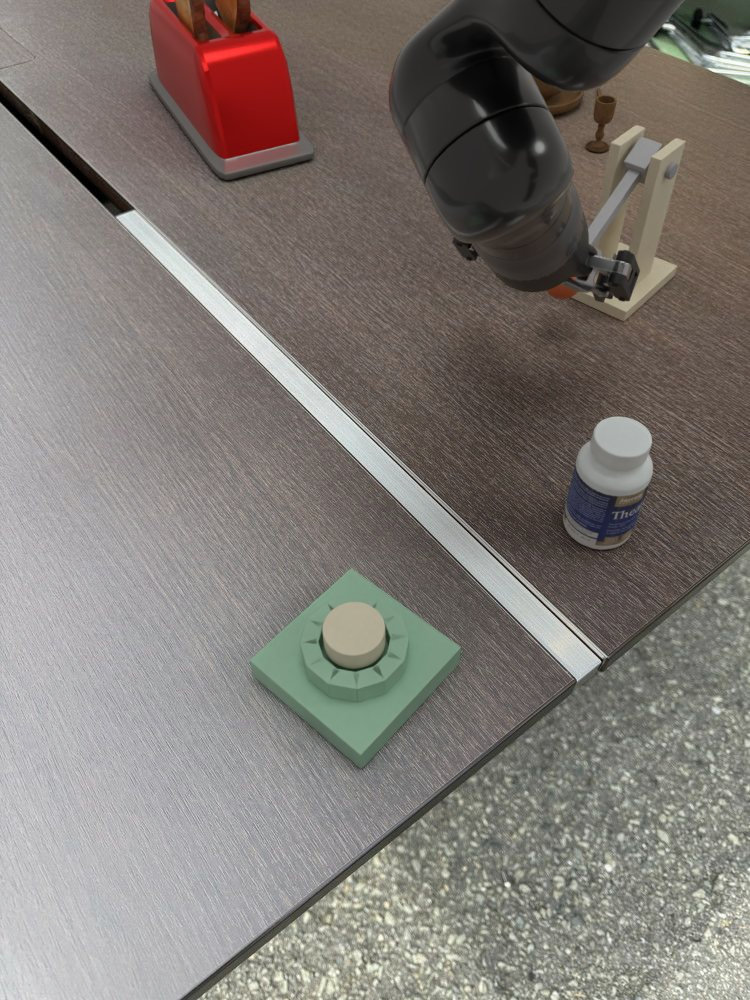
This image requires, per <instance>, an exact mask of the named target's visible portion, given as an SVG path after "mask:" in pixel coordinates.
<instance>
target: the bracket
mask: <svg viewBox="0 0 750 1000" xmlns="http://www.w3.org/2000/svg"><path fill="white" fill-rule="evenodd" d="M645 131H646V127H644V126H641V125H638V124H635V125H634V126H633V127H631V128H629V129H628V130H627V131H625V132H624V133H622V134H620V136H618V137H617V138H615V139H614V140H612V141H611V142H610V145H609V149H608V156H607V161H606V165H605V169H604V175H603V181H602V185H601V191H600V196H599V199H598V204H597V210H596V215H595V217H596V216H597V215H598V214H599V212H600V211H601V209H602V208H603V206H604V205H605V203H606V202H607V200H608V199H609V198H610V196H611V195H612V193H613V192H614V190H615V189H616V187H617V186H618V184H619V183H620V182H621V180H622V179H623V177H624V176H625V167H624V160H625V159H626V157H627V156H628V155H629V153H630V152H631V150H632V149H633V147H634V146H635V144H636V143H637V141H638V140H639V139H640V137H644V136H645ZM686 142H687V141H686V140H683V139H681V138H678V137H675V138H674V139H673V140H671V141H670V142H668V143H667V144H666V145H664V146H663V148H662V149H661V150H659V151H658V152H657V153H655V154H654V155H653V156H651V159H650V163H649V167H648V172H647V176H646V180H645V184H643V188H642V192H641V197H640V201H639V205H638V210H637V214H636V218H635V221H634V226H633V230H632V234H631V238H630V241H629V245H628V244H625V243H623V242H620V240H621V236H622V231H623V228H624V223H625V219H626V215H627V210H628V206H629V201H630V197H631V194H630V195H629V197H628V198H627V200H626V201H625V203H624V204H623V206H622V207H621V208H620V210H619V211H618V213H617V214H616V216H615V217H614V219H613V220H612V222H611V223H610V225H609V226H608V227H607V229H606V230H605V232H604V233H603V235H602V236H601V238H600V239H599V241H598V242H597V243H596V245H595V246H594V247H596V248H598V249H600V250H601V251H602V253H603V257H605V258H609V259H612V258H613V255H614V254H615V253H617V254H618V251H619V250H623V251H624V250H628V251H630V252H631V253H633V254H634V255H635V258H636V261H637V264H638V266H639V269H640V273H639V276H638V278H637V281H636V284H635V287H634V290H633V293H632V295H631V298H630V301H625V302H623V301H619V300H618V299H617V298H615V297H614V296H613V299H607V298H605V301H604V303H602V302H599V301H595V298H594V296H593V293H592V292H588V293H585V292H577V294H575V295H574V296H572V297H570V298H571V299H574V300H575V301H577V302H579V303H581V304H584V305H585V306H586V305H587V306H588V307H591V308H593V309H595V310H597V311H600V312H602V313H604V314H606V315H608V316H611V317H613V318H615V319H617V320H619V321H621V322H624V323H625V322H626V320H628V319H629V318H630V317H631V316H632V315H633V314H635V312H636V311H637V310H639V309H640V308H641V307H642V306H643V305H644V304H645V303H646V302H647V301H649V300H650V299H651V298H652V297H653V296H654V295H655V294H656V293H657V292H658V291H659V290H661V289H662V288H663V287H664V286H665V285H666V284H667V283H669V282H670V281H671V280H672V279H673V278H674V277H675V276H676V272H677V270H678V265H676V264H674V263H672V262H669V261H666V260H664V259H662V258H659V257H657V256H656V253H657V249H658V246H659V242H660V239H661V235H662V231H663V228H664V224H665V220H666V216H667V212H668V209H669V206H670V202H671V198H672V194H673V190H674V187H675V183H676V180H677V175H678V172H679V168H680V166H681V165H680V164H681V161H682V157H683V154H684V150H685V146H686ZM598 275H599V272H598V271H597V273H596V276H595V279H594V281H595V283H596V281H597V278H598Z"/></svg>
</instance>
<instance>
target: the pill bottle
mask: <svg viewBox="0 0 750 1000" xmlns="http://www.w3.org/2000/svg"><path fill="white" fill-rule="evenodd" d="M652 444H653V437H652V434H651V432H650V431H649V429H648V428H647V427H646V426H645V425H644V424H642V423H641V422H639V421H637V419H633V418H630V417H626V416H617V415H616V416H611V417H606V418H604V419H601V421H599V422H598V423H596V426H595V427H594V429H593V433H592V435H591V438H590V439H589V440H588V441H586V443H585V444H584V445H582V447H581V448H580V449H579V450H578V453H577V457H576V460H575V463H574V467H573V472H572V476H571V480H570V484H569V489H568V492H567V497H566V500H565V504H564V509H563V515H562V522H563V526H564V528H565V531H566V532H567V533H568V535H569V536H571V539H574V540H575V542H577V543H578V544H580V545H583V546H584V547H587V548H590V549H594V550H611V549H616V548H618V547H621V546H622V545H623V544H625V543H626V542H627V541H628V540H629V538H630V537H631V535H632V533H633V530H634V529H635V526H636V523H637V520H638V517H639V514H640V512H641V509H642V506H643V503H644V500H645V498H646V494H647V492H648V489H649V487H650V484H651V481H652V478H653V473H654V463H653V460H652V458H651V456H650V451H651V448H652Z"/></svg>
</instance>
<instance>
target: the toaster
mask: <svg viewBox="0 0 750 1000" xmlns="http://www.w3.org/2000/svg"><path fill="white" fill-rule="evenodd" d="M251 8H252V7H251V0H149V9H148V18H149V29H150V37H151V42H152V49H153V50H152V51H153V56H154V62H155V68H156V69H155V70H153V71H150V72H149V73H148V75H147V79H148V81H149V84H150V86H151V89H152V90H153V91H154V92H155V94H156V96H157V97H158V98H159V100H160V101H161V102H162V104H163V105H164V106H165V108H166V109H167V111H168V112H169V114H170V115H171V117H173V118H174V120H175V121H176V123H177V124H178V126H179V127H180V128H181V130H182V131H183V132H184V133H185V135H186V136H187V138H188V139H189V140H190V142H191V144H192V145H193V146H194V147H195V149H197V151H198V153H199V154H200V156H201V157H202V158H203V160H204V161H205V163H206V164H207V166H209V167H210V169H211V170H212V171H213V172H214V173H215V174H216V175H217V176H218V177H219V178H220V179H222V180H225V181H232V180H236V179H239V178H244V177H248V176H251V175H255V174H260V173H263V172H267V171H272V170H275V169H279V168H284V167H287V166H291V165H295V164H300V163H302V162H306V161H310V160H313V158H314V155H315V148H314V145H313V144H312V143H311V141H310V140H309V138H307V136H306V135H305V134H304V133H303V132H302V131H301V130H300V128H299V121H298V116H297V109H296V102H295V96H294V89H293V84H292V79H291V75H290V69H289V65H288V59H287V57H286V53H285V52H284V49H283V46H282V44H281V41H280V38H279V36H278V35H277V33H276V32H275V31H274V30H273V29H272V28H271V27H270V26H269V25H268V24H267V23H266V22H265V21H264V20H263V19H261V17H260V16H258V14H257V13H255V12H254V11H253V10H252V9H251Z"/></svg>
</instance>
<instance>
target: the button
mask: <svg viewBox="0 0 750 1000" xmlns="http://www.w3.org/2000/svg"><path fill="white" fill-rule="evenodd" d="M322 632H323V641H324V648H325V651H326V653H327V655H328V657H329V658H330V659H331V660H332V661H333V662H334V663H336V664H337V665H339V666H342V667H344V668H349V669H358V668H363V667H366V666H369V665H371V664H372V663H374V662H375V661H376V660H377V659H378V658H379V657H380V656H381V654H382V653H383V651H384V648H385V623H384V620H383V618H382V616H381V614H380V613H379V612H378V611H377V610H376V609H375V608H373V607H372V606H370V605H368V604H365V603H361V602H348V603H344V604H341V605H339V606H337V607H335V608H334V609H333V610H332V611H331V612H330V613H329V614H328V615H327V616H326V618H325V620H324V623H323V627H322Z"/></svg>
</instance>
